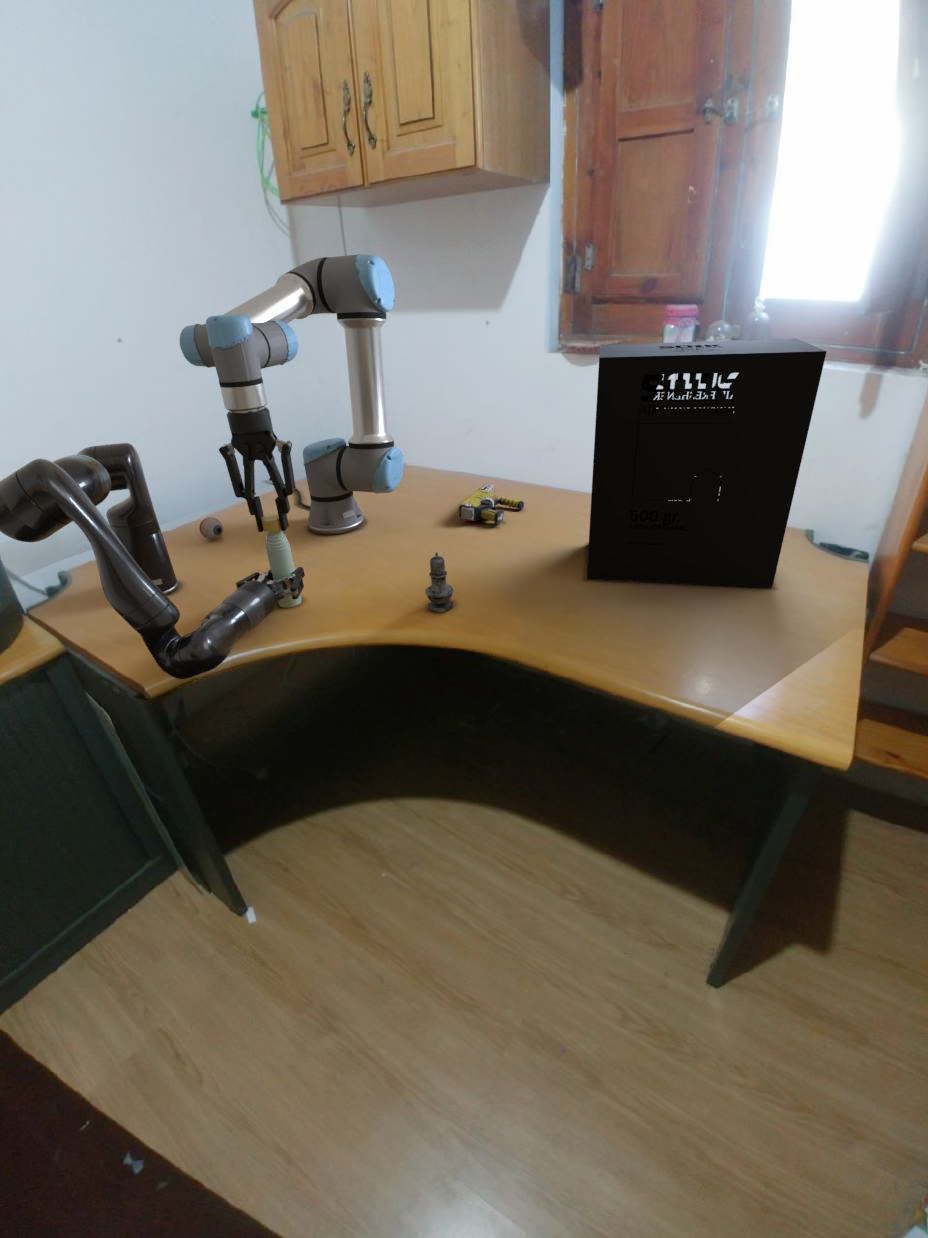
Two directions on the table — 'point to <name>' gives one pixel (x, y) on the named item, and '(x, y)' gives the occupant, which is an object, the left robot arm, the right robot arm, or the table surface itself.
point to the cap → (271, 523)
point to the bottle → (281, 562)
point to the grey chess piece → (439, 586)
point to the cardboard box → (698, 459)
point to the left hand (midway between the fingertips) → (290, 570)
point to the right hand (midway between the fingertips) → (273, 528)
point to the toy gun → (486, 505)
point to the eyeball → (211, 528)
